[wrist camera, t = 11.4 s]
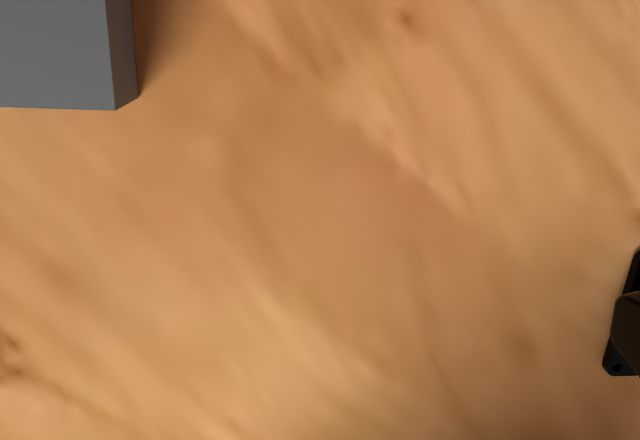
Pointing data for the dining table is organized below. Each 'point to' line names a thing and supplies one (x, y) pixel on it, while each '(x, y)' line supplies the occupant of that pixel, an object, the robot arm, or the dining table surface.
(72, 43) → the podium
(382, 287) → the dining table surface
